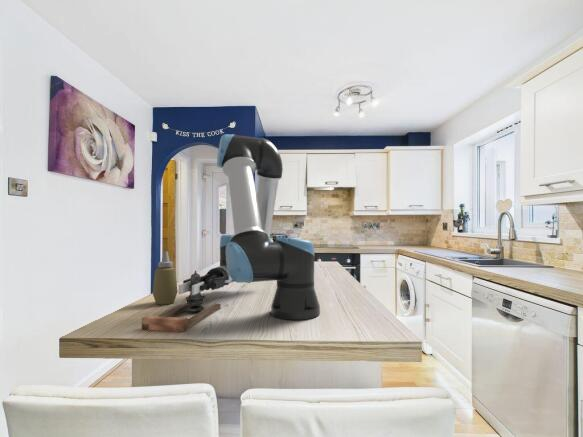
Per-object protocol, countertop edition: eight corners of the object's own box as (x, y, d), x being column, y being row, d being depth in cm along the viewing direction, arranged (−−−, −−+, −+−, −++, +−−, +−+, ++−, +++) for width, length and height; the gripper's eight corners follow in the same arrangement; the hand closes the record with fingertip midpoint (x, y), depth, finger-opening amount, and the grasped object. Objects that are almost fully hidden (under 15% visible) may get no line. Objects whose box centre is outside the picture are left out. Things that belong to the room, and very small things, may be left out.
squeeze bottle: (171, 306, 102) (172, 252, 103) (148, 306, 102) (148, 252, 103) (181, 300, 110) (181, 250, 111) (158, 300, 110) (159, 250, 111)
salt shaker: (199, 312, 92) (199, 272, 92) (181, 310, 93) (181, 271, 93) (208, 306, 98) (208, 269, 98) (191, 305, 99) (191, 269, 99)
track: (220, 308, 99) (220, 299, 99) (183, 332, 77) (183, 320, 77) (187, 306, 101) (187, 297, 102) (141, 329, 79) (141, 317, 79)
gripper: (240, 288, 112) (212, 304, 89) (198, 286, 115) (160, 301, 92) (240, 267, 112) (212, 278, 89) (198, 266, 115) (161, 276, 92)
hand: (186, 289), depth 90 cm, fingers closed on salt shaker, 4 cm apart
